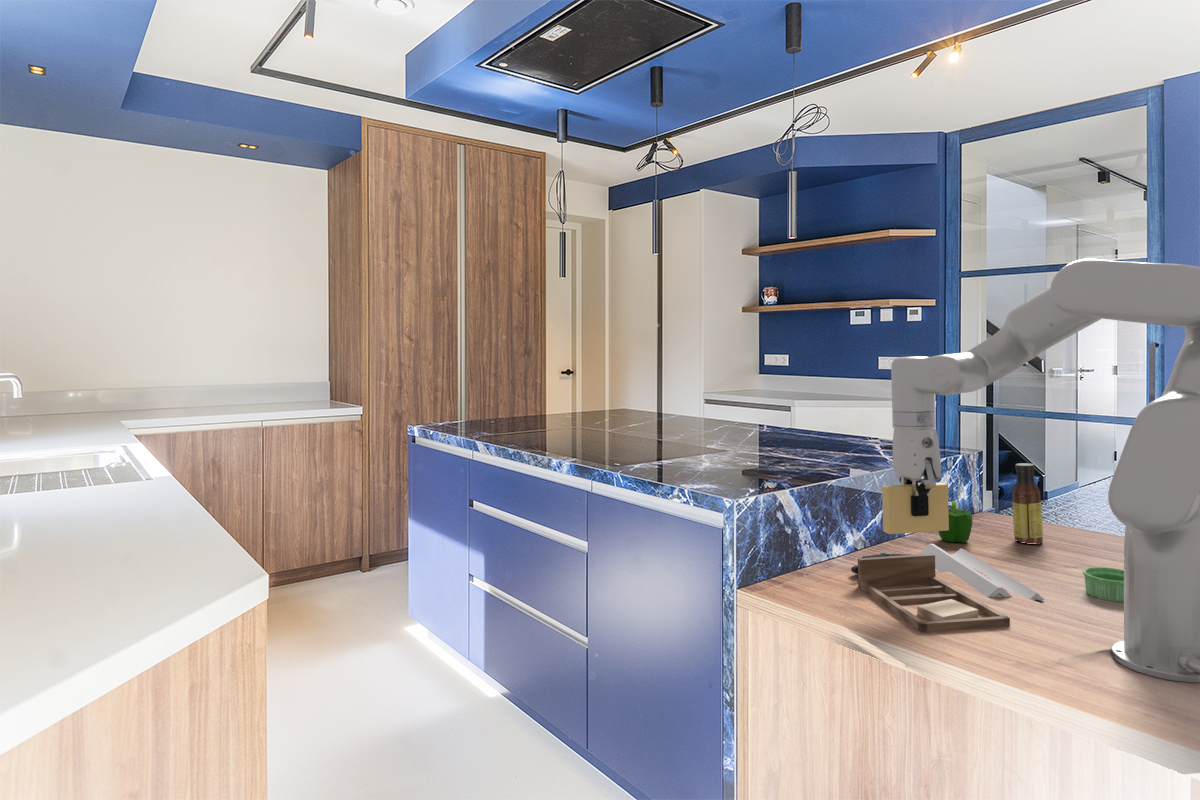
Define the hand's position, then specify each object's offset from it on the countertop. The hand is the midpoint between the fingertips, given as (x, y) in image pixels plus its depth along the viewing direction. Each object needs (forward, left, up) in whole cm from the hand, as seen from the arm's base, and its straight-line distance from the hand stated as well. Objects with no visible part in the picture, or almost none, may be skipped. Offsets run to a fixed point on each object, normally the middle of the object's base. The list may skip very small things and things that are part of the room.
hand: (915, 513), depth 132 cm
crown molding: (+13, -19, -19) cm, 30 cm away
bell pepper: (+39, -32, -18) cm, 54 cm away
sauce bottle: (+34, -48, -18) cm, 62 cm away
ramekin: (-3, -38, -18) cm, 42 cm away
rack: (-4, 0, -18) cm, 18 cm away
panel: (0, 0, -3) cm, 3 cm away
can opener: (+17, -4, -18) cm, 25 cm away
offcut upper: (-10, 0, -17) cm, 20 cm away
